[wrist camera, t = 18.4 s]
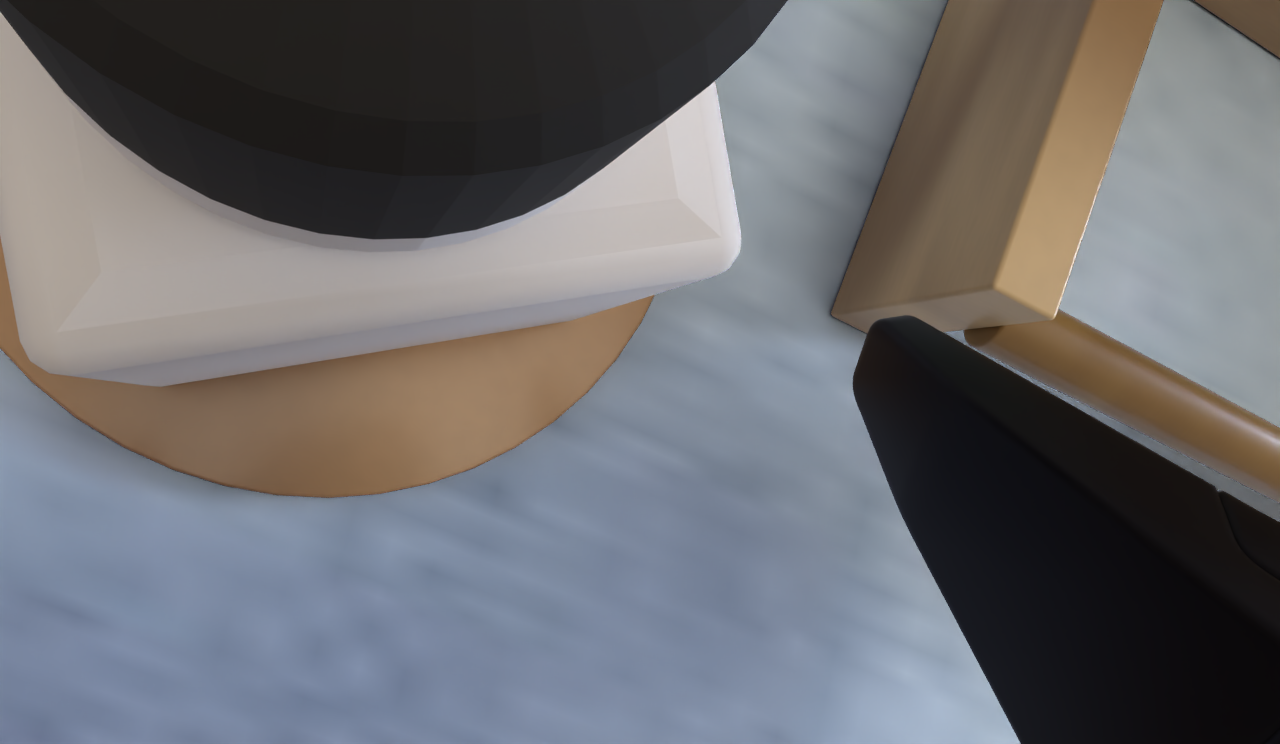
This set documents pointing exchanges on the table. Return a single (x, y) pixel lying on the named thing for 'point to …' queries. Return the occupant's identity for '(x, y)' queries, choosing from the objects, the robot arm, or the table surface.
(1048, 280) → the spice rack
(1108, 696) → the robot arm
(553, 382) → the cork coaster
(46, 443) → the table surface
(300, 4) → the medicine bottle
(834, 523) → the table surface
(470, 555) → the table surface
